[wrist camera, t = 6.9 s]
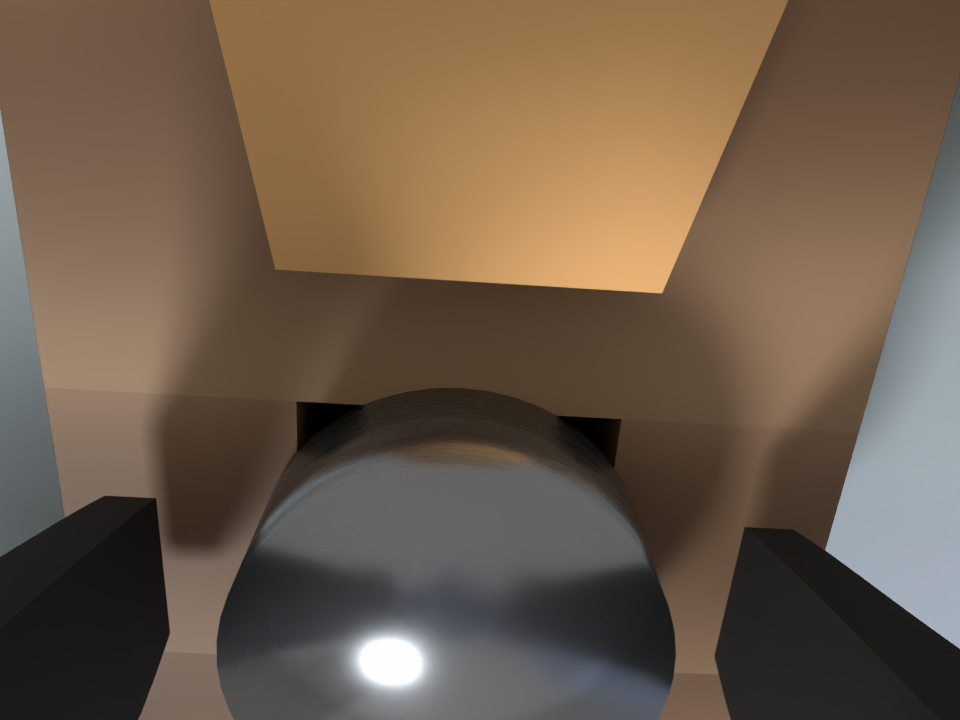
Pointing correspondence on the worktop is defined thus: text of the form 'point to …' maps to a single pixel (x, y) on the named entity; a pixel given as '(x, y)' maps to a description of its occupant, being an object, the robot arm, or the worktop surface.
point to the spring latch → (488, 131)
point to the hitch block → (459, 306)
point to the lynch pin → (447, 575)
